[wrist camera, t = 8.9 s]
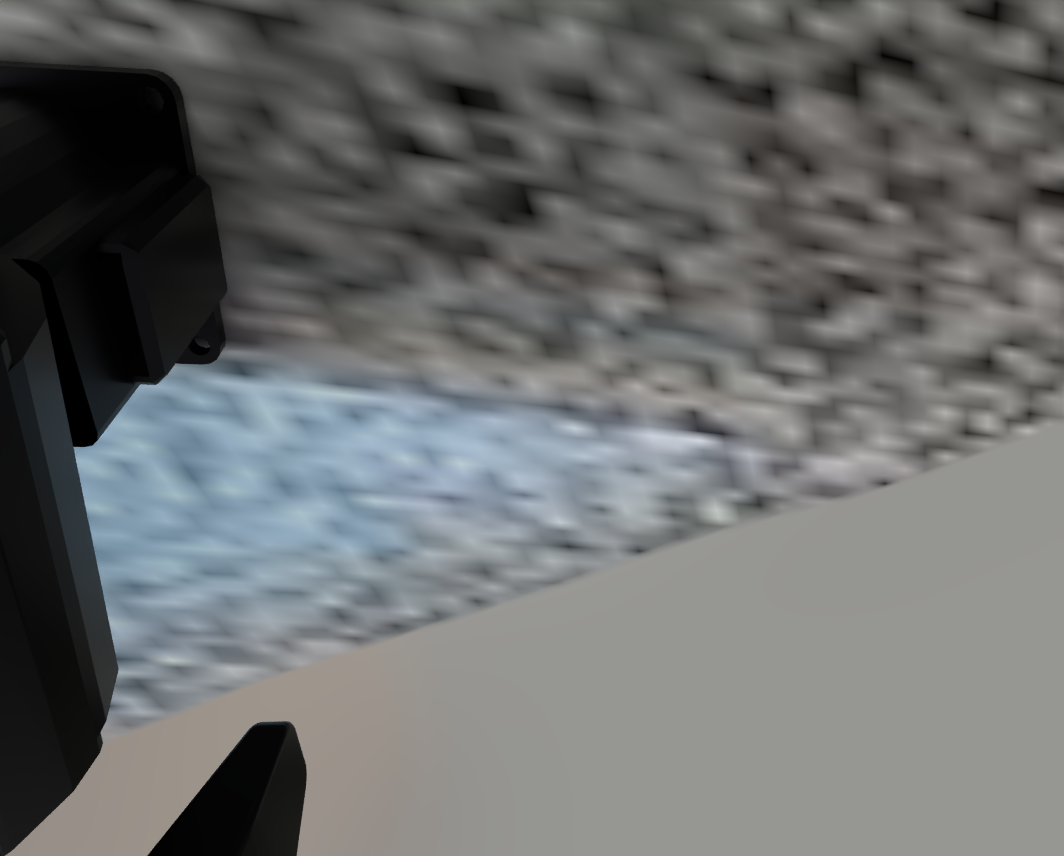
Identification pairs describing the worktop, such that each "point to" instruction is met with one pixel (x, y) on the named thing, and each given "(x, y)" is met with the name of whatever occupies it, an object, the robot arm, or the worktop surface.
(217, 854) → the robot arm
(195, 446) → the worktop surface
